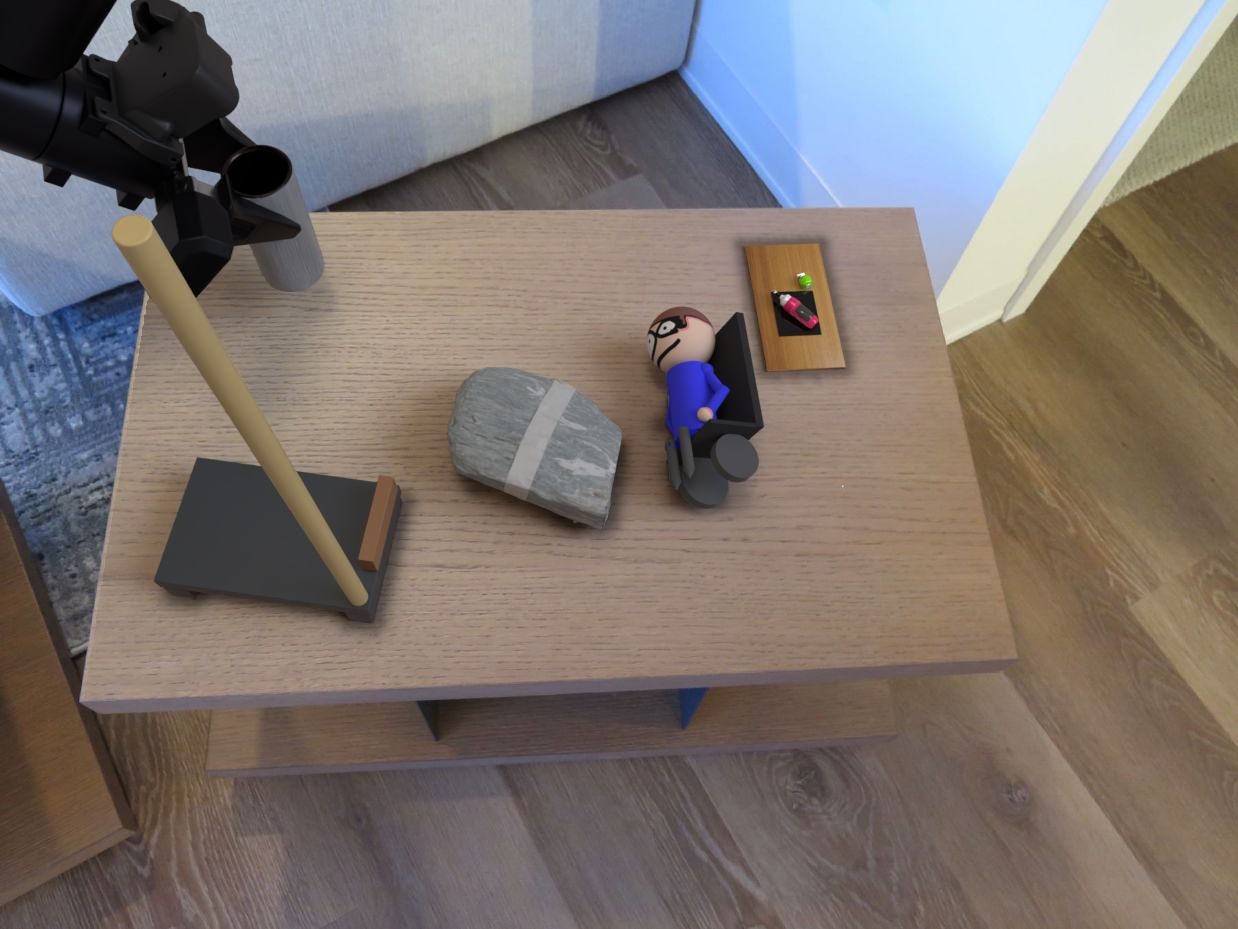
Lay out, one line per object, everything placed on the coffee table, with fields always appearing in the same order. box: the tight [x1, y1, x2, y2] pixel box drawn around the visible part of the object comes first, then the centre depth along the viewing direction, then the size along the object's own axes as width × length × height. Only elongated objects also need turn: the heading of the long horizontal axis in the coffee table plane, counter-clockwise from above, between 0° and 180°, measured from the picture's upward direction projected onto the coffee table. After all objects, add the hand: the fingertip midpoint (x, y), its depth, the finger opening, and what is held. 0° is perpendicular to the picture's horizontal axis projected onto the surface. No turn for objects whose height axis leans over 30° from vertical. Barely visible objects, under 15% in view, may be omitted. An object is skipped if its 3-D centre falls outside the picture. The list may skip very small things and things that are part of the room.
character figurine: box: [646, 306, 765, 510], centre depth 69 cm, size 8×7×15 cm
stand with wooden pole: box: [110, 214, 403, 624], centre depth 48 cm, size 14×9×40 cm, turn 83°
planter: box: [219, 144, 325, 293], centre depth 66 cm, size 4×4×10 cm
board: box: [744, 243, 847, 373], centre depth 77 cm, size 6×12×2 cm, turn 5°
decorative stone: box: [446, 366, 623, 531], centre depth 68 cm, size 13×10×6 cm
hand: (291, 204), depth 65 cm, fingers closed on planter, 4 cm apart
